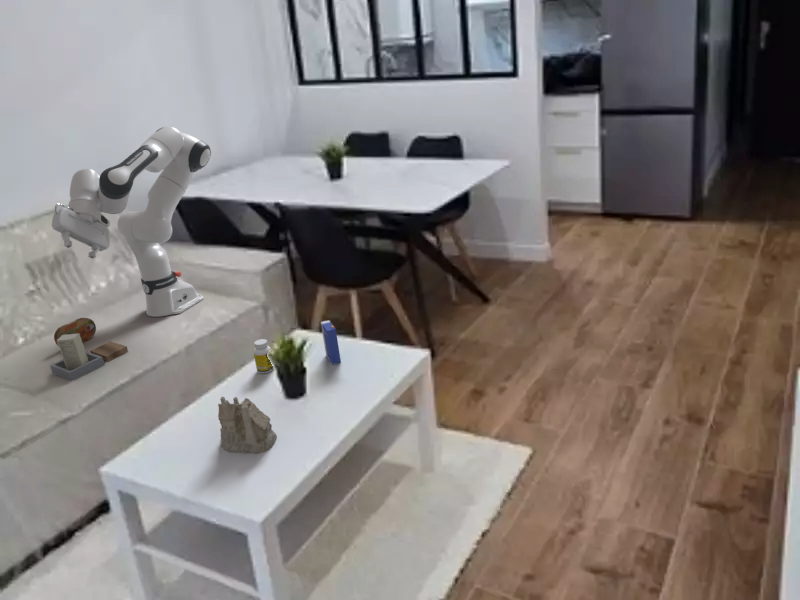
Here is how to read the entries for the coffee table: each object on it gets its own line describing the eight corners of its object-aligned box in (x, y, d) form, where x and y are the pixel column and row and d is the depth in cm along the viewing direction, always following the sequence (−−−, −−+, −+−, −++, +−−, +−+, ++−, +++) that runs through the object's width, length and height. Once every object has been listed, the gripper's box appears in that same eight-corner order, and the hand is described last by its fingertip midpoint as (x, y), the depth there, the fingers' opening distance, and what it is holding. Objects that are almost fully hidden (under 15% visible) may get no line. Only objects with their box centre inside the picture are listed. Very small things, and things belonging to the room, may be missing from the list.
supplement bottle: (271, 374, 229) (265, 345, 226) (254, 374, 231) (248, 346, 227) (277, 365, 234) (271, 337, 230) (261, 365, 235) (255, 338, 232)
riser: (111, 346, 262) (110, 341, 261) (128, 351, 256) (126, 346, 256) (91, 355, 256) (89, 350, 256) (108, 361, 251) (106, 356, 250)
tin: (61, 352, 262) (54, 331, 259) (56, 351, 264) (49, 329, 260) (99, 335, 273) (92, 314, 269) (94, 334, 274) (88, 313, 271)
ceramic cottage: (263, 456, 188) (252, 403, 183) (209, 451, 194) (197, 399, 190) (293, 426, 202) (283, 376, 197) (242, 422, 208) (231, 373, 203)
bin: (84, 357, 256) (82, 350, 254) (104, 364, 249) (102, 356, 248) (52, 373, 247) (49, 365, 246) (72, 381, 240) (69, 372, 239)
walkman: (341, 362, 231) (335, 327, 227) (332, 364, 231) (326, 329, 226) (334, 352, 238) (328, 318, 234) (325, 354, 238) (320, 320, 233)
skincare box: (90, 365, 250) (80, 332, 245) (84, 371, 245) (74, 338, 241) (73, 366, 250) (62, 334, 246) (66, 372, 246) (55, 340, 242)
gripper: (63, 197, 232) (59, 236, 226) (114, 223, 249) (112, 260, 243) (48, 204, 234) (45, 242, 228) (100, 229, 251) (98, 266, 246)
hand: (80, 252), depth 236 cm, fingers open, 8 cm apart
